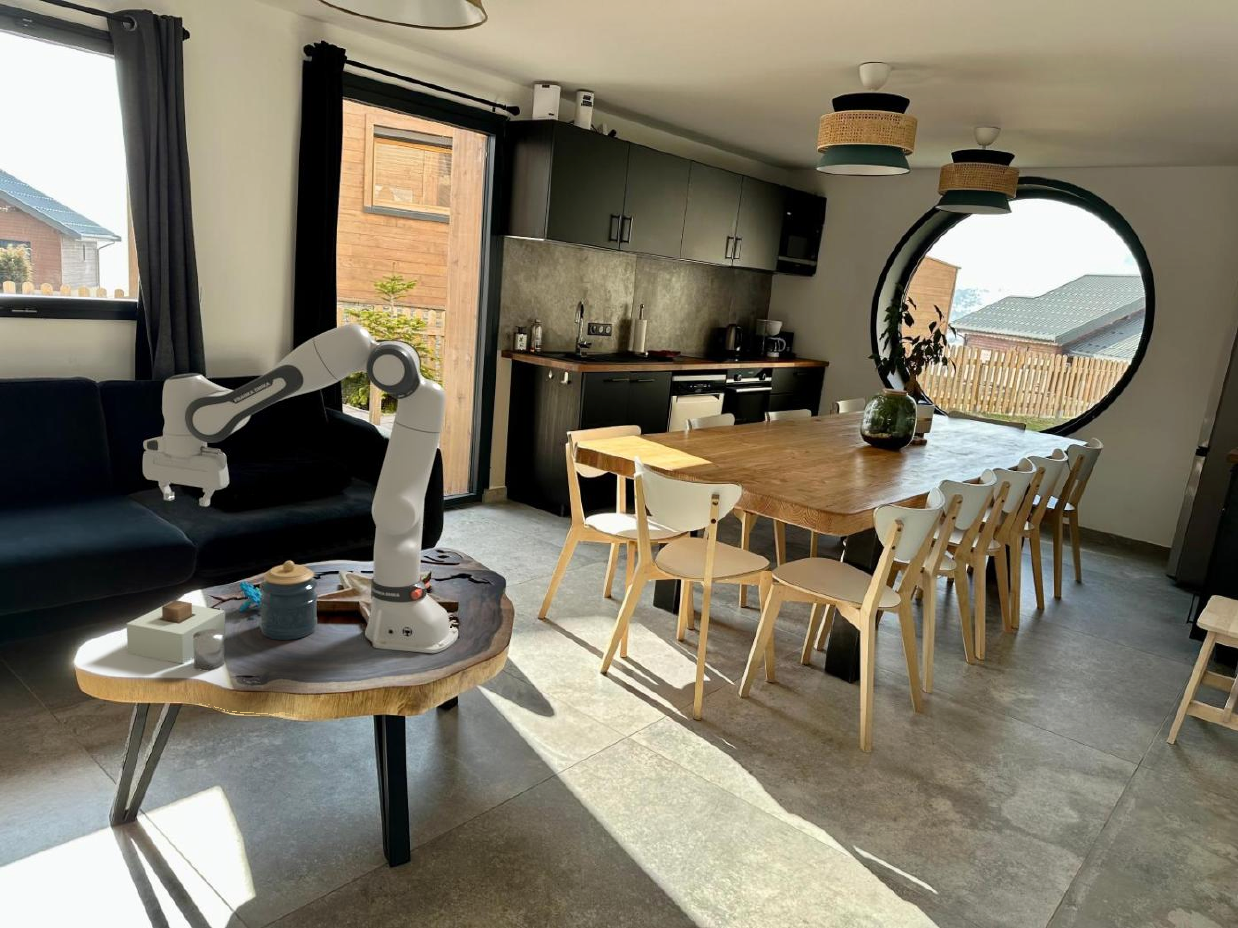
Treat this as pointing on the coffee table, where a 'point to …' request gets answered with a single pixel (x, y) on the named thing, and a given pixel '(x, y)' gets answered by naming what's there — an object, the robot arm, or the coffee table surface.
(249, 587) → the blue irregular piece
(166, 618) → the square bit
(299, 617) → the canister
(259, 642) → the coffee table surface
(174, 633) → the block
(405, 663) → the coffee table surface
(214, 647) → the round bit
